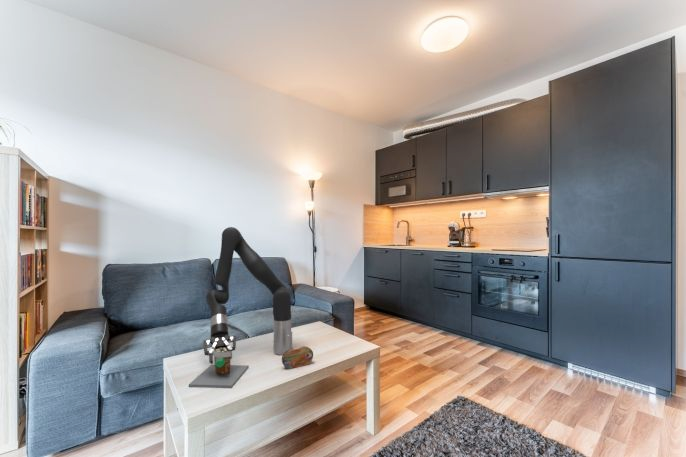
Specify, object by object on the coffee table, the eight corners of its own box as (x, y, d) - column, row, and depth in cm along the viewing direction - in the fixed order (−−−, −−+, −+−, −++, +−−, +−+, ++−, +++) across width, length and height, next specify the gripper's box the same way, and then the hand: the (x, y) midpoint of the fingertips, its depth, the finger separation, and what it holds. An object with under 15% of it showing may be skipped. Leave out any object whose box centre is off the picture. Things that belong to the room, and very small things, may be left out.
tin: (282, 370, 132) (282, 352, 132) (280, 368, 134) (280, 349, 135) (313, 363, 139) (313, 346, 139) (311, 361, 141) (311, 344, 141)
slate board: (248, 367, 135) (248, 365, 135) (231, 388, 117) (231, 385, 117) (211, 366, 136) (211, 364, 136) (188, 386, 118) (188, 384, 118)
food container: (209, 367, 130) (210, 345, 130) (224, 364, 133) (224, 342, 133) (215, 379, 120) (215, 355, 120) (230, 375, 123) (231, 351, 123)
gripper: (202, 324, 130) (202, 361, 119) (236, 320, 137) (239, 354, 126) (202, 332, 135) (202, 368, 124) (234, 328, 141) (237, 361, 131)
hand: (220, 361), depth 125 cm, fingers closed on food container, 6 cm apart
